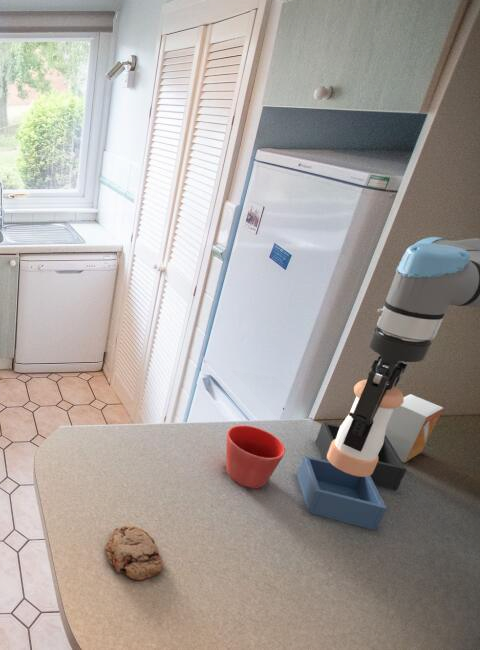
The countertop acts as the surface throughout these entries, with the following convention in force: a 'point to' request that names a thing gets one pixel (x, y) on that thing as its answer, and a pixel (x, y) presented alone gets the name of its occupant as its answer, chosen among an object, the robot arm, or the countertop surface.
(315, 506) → the blue bin
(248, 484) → the flower pot
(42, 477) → the countertop surface
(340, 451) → the pepper shaker
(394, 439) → the small box
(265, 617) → the countertop surface
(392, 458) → the charcoal bin
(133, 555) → the cookie
